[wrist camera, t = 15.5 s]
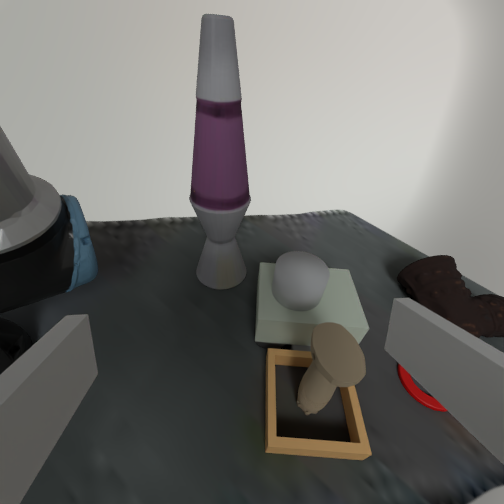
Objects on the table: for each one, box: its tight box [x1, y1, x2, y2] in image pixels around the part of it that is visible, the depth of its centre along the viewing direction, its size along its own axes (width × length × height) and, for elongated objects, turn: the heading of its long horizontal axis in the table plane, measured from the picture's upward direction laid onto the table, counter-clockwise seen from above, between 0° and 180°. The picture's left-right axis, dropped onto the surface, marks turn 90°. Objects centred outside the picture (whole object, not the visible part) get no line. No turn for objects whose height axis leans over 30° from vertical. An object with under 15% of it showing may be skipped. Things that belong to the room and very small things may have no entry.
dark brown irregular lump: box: [397, 255, 504, 338], centre depth 47 cm, size 10×15×15 cm
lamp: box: [189, 14, 251, 289], centre depth 41 cm, size 11×11×40 cm
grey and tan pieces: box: [255, 251, 372, 460], centre depth 36 cm, size 16×26×13 cm, turn 177°
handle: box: [297, 322, 366, 415], centre depth 30 cm, size 5×6×15 cm
